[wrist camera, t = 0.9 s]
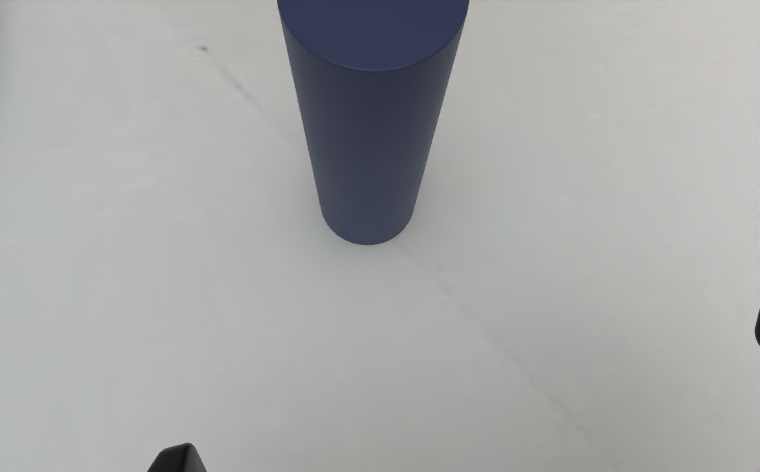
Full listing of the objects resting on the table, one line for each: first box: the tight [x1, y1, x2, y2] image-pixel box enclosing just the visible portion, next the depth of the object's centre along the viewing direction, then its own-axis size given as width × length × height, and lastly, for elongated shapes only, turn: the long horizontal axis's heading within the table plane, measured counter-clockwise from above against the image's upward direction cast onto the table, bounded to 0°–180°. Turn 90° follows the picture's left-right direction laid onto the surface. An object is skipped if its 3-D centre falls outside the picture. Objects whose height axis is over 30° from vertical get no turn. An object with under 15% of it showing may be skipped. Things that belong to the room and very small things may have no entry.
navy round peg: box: [277, 0, 469, 245], centre depth 18 cm, size 4×4×13 cm
